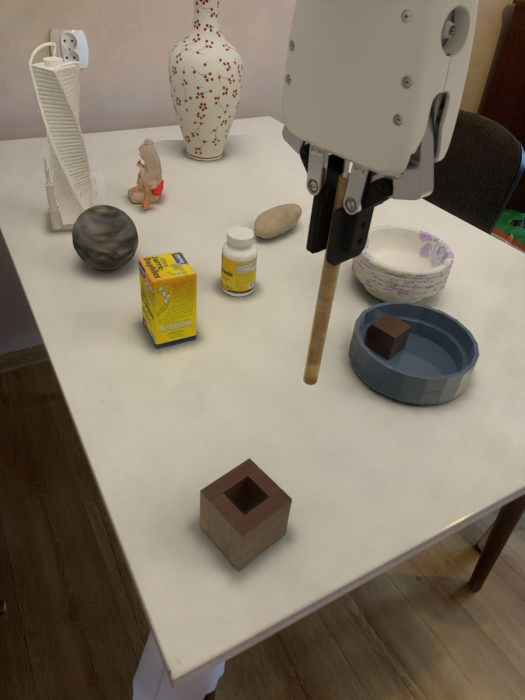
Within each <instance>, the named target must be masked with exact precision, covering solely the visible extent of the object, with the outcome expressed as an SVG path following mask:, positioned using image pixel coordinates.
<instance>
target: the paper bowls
mask: <svg viewBox="0 0 525 700" xmlns="http://www.w3.org/2000/svg"><path fill="white" fill-rule="evenodd" d="M454 259H455V258H454V254H453V251H452V249H451V248H450V246H449V245H448V244H447V243H446V242H445V241H443V240H442V239H440V238H439V237H437V236H436V235H434V234H432V233H430V232H427V231H424V230H421V229H418V228H414V227H409V226H403V225H378V226H375V227H370V229H369V233H368V237H367V242H366V246H365V248H364V249H363V251H362V253H361V254H360V255H359V256H356V257H354V258H352V260H351V261H352V262H351V270H352V273H353V275H354V276H355V278H356V279H357V280H358V281H359V282H360V283H361V284H363V286H364V288H365V290H366V291H367V292H368V293H369V294H371V296H373V297H375V298H377V299H378V300H380V301H383V302H389V301H397V302H412V303H418V302H421V301H422V300H423V299H425V298H429V297H433V296H435V295H437V294H439V293H440V292H441V291H442V290H443V289H444V288H445V286H446V284H447V283H448V282H447V281H448V278H449V276H450V274H451V269H452V266H453V264H454Z"/></svg>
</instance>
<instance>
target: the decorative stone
mask: <svg viewBox="0 0 525 700" xmlns="http://www.w3.org/2000/svg"><path fill="white" fill-rule="evenodd" d="M71 239H72V246H73V249H74V251H75V252H76V254H77V256H78V257H79V259H81V261H83V263H85V264H87V265H88V266H89V267H92V268H94V269H96V270H100V271H112V270H113V271H114V270H117V269H120V268H122V267H124V266H126V265H127V264H128V263H129V262H130V261H131V260H132V259H133V258H134V256H135V254H136V252H137V250H138V246H139V233H138V230H137V227H136V224H135V222H134V220H133V218H131V216H129V215H128V214H127V213H126V212H125V211H124V210H122V209H120V208H119V207H116V206H113V205H110V204H97V205H92V207H91V208H88V209H87V210H85V211H84V212H82V213H81V214H80V215H79V217H78V218H77V220H76V221H75V223H74V226H73V229H72V231H71Z"/></svg>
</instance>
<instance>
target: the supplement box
mask: <svg viewBox="0 0 525 700" xmlns="http://www.w3.org/2000/svg"><path fill="white" fill-rule="evenodd" d="M137 263H138V274H139V287H140V298H141V299H140V300H141V314H142V325H143V326H144V327H145V329H146V331H147V333H148V334H149V337H150V338H151V340H152V342H153V345H154V347H155V348H156V349H157V350H158V349H162V348H165V347H170V346H173V345H178V344H181V343H186V342H190V341H194V340H197V302H198V301H197V298H198V297H197V295H198V294H197V293H198V290H197V289H198V284H197V283H198V273H197V272H196V271H195V270H194V269H193V268H192V267H191V265H190V264H189V261H187V259H186V257H185V255H184V254H183V253H182V252H181V251H180V250H178V251H173V252H167V253H162V254H156V255H149V256H144V257H143V256H142V257H139V258H138V259H137Z"/></svg>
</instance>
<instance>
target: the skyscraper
mask: <svg viewBox="0 0 525 700" xmlns="http://www.w3.org/2000/svg"><path fill="white" fill-rule="evenodd" d="M50 46H51V47H53V49H52V50H53V52H52V56H46V57H43V58H42V60H43V61H40V62H36V63H33V60H34V57H35V55H36V53H38V51H40V50H41V49H43V48H47V47H50ZM56 55H57V43H56V42H54V41H48V42H45V43H41V44H39V45H38V46H36V47H35V48H34V50H33V51H32V53H31V55H30V57H29V61H28V67H29V68H28V69H29V71H30V76H31V79H32V83H33V87H34V91H35V96H36V99H37V104H38V106H39V110H40V113H41V116H42V119H43V122H44V126H45V129H46V144H47V145H46V146H47V152H48V161H49V167H48V164H47V158H46V157H43V164H44V168H43V171H44V175H45V183H44V187H45V193H46V199H47V204H48V212H49V218H50V225H51V233H61V232H63V233H64V232H65V233H66V232H72V229H73V226H74V223H75V221H76V220H77V218H78V217H79V215H80V214H81V213H82V212H84V211H85V210H87V209H88V208H91V207H93V196H92V195H93V194H92V179H91V178H92V177H91V169H90V168H91V167H90V162H89V155H88V150H87V146H86V142H85V138H84V135H83V131H82V127H81V125H80V117H81V116H80V115H81V114H80V113H81V64H80V62H79V61H78V60H71V61H70V60H69V61H67V62H65V61H64V58H62V57H59V56H56ZM51 178H52V179H51Z"/></svg>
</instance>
